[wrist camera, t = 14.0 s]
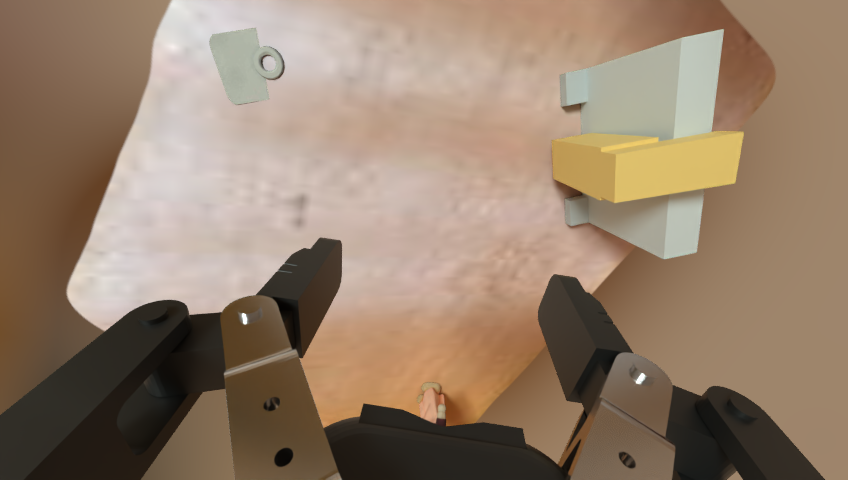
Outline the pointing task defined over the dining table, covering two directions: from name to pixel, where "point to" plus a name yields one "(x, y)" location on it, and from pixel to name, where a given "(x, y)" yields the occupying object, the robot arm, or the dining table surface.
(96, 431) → the robot arm
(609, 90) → the wall board
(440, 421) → the grandmother figurine
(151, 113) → the dining table surface
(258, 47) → the mounting bracket
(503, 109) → the dining table surface
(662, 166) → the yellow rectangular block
